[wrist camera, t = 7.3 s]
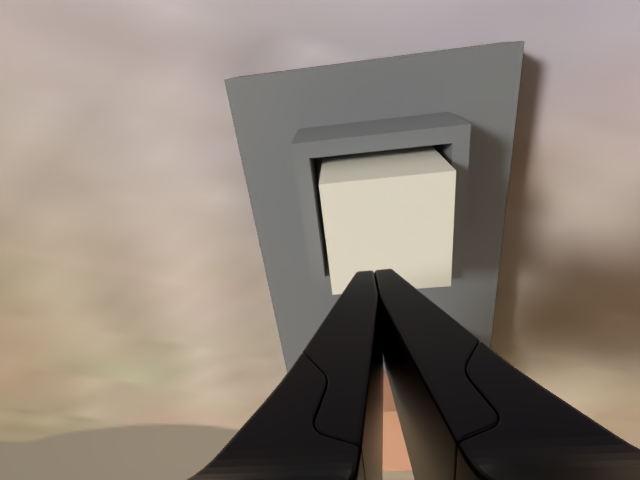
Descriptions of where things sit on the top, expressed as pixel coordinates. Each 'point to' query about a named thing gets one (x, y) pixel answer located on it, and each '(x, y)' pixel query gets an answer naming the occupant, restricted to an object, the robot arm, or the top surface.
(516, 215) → the top surface
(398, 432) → the orange cube
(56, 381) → the top surface
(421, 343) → the robot arm
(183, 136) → the top surface
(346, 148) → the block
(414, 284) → the beige cube
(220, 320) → the top surface
